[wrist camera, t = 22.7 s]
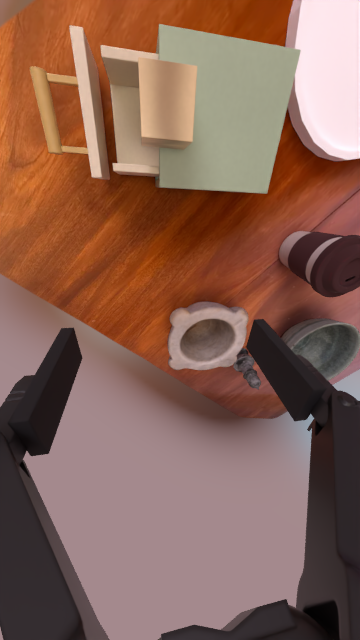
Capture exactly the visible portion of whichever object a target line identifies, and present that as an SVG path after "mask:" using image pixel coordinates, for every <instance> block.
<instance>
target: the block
mask: <svg viewBox="0 0 360 640" xmlns="http://www.w3.org/2000/svg"><path fill="white" fill-rule="evenodd" d="M138 70H139V97H140V122H141V145H142V146H148V147H159V148H170V149H181V150H184V149H185V148H186V147H187V146H189V145H190V144H191V143H192V142H193V128H194V112H195V97H196V81H197V66H194V65H188V64H182V63H175V62H169V61H163V60H156V59H150V58H144V57H138Z"/></svg>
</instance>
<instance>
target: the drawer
mask: <svg viewBox="0 0 360 640" xmlns="http://www.w3.org/2000/svg"><path fill="white" fill-rule="evenodd" d="M69 28H70V35H71V41H72V48H73V55H74V61H75V68H76V75H77V77H72V76H65V75H57V74H50V73H47V72H46V71H45V70H44V69H42V68H39V67H30V72H31V77H32V81H33V85H34V90H35V94H36V98H37V103H38V107H39V111H40V116H41V120H42V124H43V129H44V133H45V137H46V142H47V146H48V150H49V153H51V154H58V155H63V152H64V153H76V154H88V155H89V161H90V168H91V174H92V177H93V178H98V179H103V180H110V173H109V164H108V155H107V146H106V137H105V128H104V119H103V110H102V101H101V92H100V83H99V74H98V68H97V65H96V62H95V60H94V57H93V54H92V52H91V49H90V46H89V44H88V41H87V38H86V36H85V33H84V30H83V28H82V27H77V26H71V25H69ZM100 47H101V56H102V59H103V63H104V66H105V69H106V72H107V75H108V79H109V82H110V89H111V100H112V111H113V121H114V132H115V143H116V154H117V163H113V171H115V172H116V173H118V174H124V175H139V176H154V177H159V147H148V146H142V145H141V122H140V97H139V70H138V57H144V58H150V59H156V60H159V54H153V53H147V52H141V51H135V50H129V49H122V48H116V47H110V46H104V45H101V46H100ZM49 83H53V84H61V85H69V86H77V87H78V88H79V95H80V101H81V108H82V115H83V121H84V128H85V135H86V141H87V148H82V147H70V146H62V144H61V139H60V134H59V129H58V125H57V120H56V115H55V110H54V105H53V100H52V95H51V90H50V85H49Z"/></svg>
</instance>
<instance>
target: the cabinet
mask: <svg viewBox="0 0 360 640" xmlns="http://www.w3.org/2000/svg"><path fill="white" fill-rule="evenodd" d="M300 51H301V50H298V49H293V48H287V47H282V46H276V45H271V44H266V43H260V42H255V41H249V40H244V39H238V38H233V37H227V36H222V35H216V34H211V33H205V32H200V31H195V30H189V29H184V28H178V27H173V26H167V25H162V24H159V30H158V40H157V50H156V54H159V60H163V61H169V62H175V63H182V64H188V65H194V66H197V81H196V97H195V112H194V128H193V142H192V143H191V144H190V145H189V146H187V147H186V148H185V149H184V150H181V149H170V148H159V177H155V183H156V187H160V188H177V189H194V190H211V191H227V192H245V193H265V194H267V191H268V187H269V182H270V178H271V174H272V170H273V165H274V161H275V157H276V153H277V149H278V144H279V140H280V136H281V132H282V127H283V123H284V119H285V115H286V111H287V106H288V102H289V98H290V94H291V89H292V85H293V81H294V77H295V73H296V68H297V64H298V60H299V56H300Z"/></svg>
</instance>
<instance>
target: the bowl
mask: <svg viewBox="0 0 360 640" xmlns="http://www.w3.org/2000/svg"><path fill="white" fill-rule="evenodd" d="M281 339H282V340H283V341H284V342H285V343H286V345H287V346H288V347H289V348H290V349H291V350H292V351H293V352H294V353H295V354H296V355H299V354H300V355H301V356H303V357H304V358H306V359H307V360H308V361H309V362H310V363H311V364H312V365H313V367H315V368H316V369H317V370H318V372H320V373H321V374H322V375H323V376H324V377H325V378H326V379H327V380H330V379H332V378H334V377H335V376H337V375H338V374H340V373H341V372H342V371H343V370H344V369H346V367H347V366H348V365H349V364H350V363H351V362H352V361H353V359H354V358H355V357H356V355H357V353H358V351H359V348H360V334H359V331H358V330H357V328H356V327H354V326H353V325H351V324H347V323H343V322H338V321H335V320H331V319H322V318H319V319H309V320H305V321H303V322H300V323H298V324H296V325H294V326H292V327H290V328H289V329H288V330H287V331H286V332H285V333H284V334H283V336H282V337H281Z"/></svg>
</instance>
